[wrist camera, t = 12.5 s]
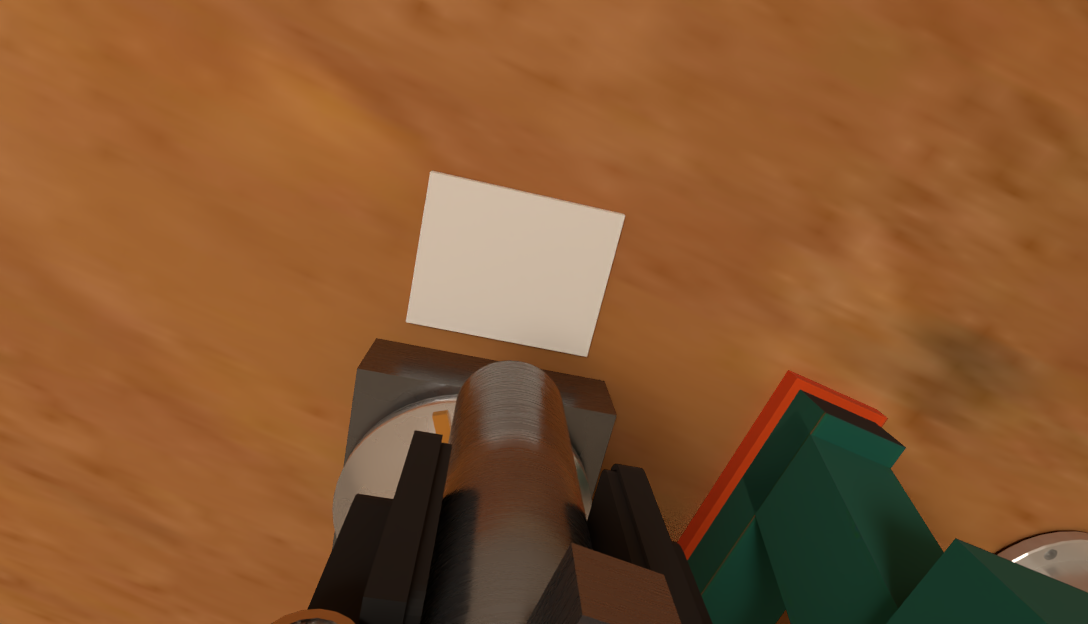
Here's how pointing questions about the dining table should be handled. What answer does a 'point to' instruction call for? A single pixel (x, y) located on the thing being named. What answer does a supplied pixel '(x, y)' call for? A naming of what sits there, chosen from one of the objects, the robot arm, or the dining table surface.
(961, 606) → the power tool
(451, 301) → the key mat
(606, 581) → the chuck key
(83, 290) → the dining table surface
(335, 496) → the collar
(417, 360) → the stand
